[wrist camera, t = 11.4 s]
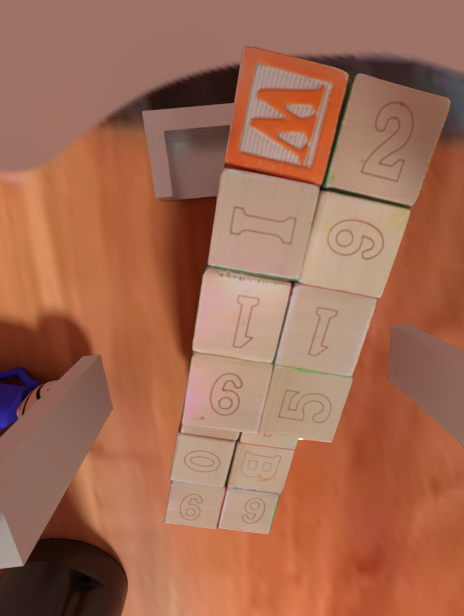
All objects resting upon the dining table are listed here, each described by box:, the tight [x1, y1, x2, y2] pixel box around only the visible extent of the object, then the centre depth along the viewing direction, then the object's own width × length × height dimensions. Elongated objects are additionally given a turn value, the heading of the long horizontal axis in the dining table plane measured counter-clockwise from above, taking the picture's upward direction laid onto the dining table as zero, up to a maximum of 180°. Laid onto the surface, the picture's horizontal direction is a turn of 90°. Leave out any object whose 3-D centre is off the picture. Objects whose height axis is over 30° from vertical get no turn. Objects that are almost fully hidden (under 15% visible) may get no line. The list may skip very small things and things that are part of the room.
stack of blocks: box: [164, 46, 451, 534], centre depth 17 cm, size 21×6×12 cm, turn 168°
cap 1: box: [142, 103, 234, 201], centre depth 21 cm, size 11×5×4 cm, turn 95°
